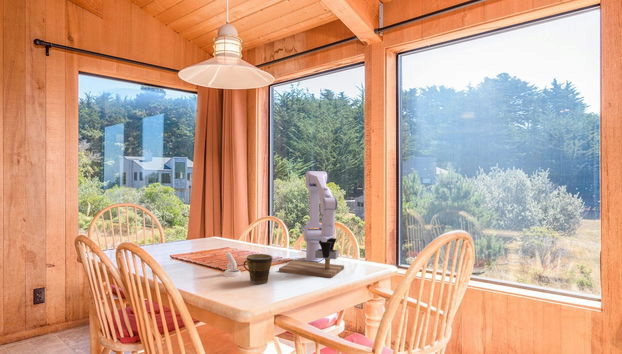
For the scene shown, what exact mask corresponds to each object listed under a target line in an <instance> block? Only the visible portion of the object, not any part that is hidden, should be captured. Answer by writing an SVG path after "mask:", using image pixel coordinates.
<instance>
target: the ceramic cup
mask: <svg viewBox="0 0 622 354" xmlns="http://www.w3.org/2000/svg"><path fill="white" fill-rule="evenodd" d="M272 263H273V255H270V254H268V253H267V254H265V253H254V254H249V255H247V256H246V260H244V262H243V268H244V269H246V270H247V272H248V274H249V280H250V284H253V285H264V284H267V283H268V281H269V275H270V269H271V267H272ZM246 264H247V267H246Z"/></svg>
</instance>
